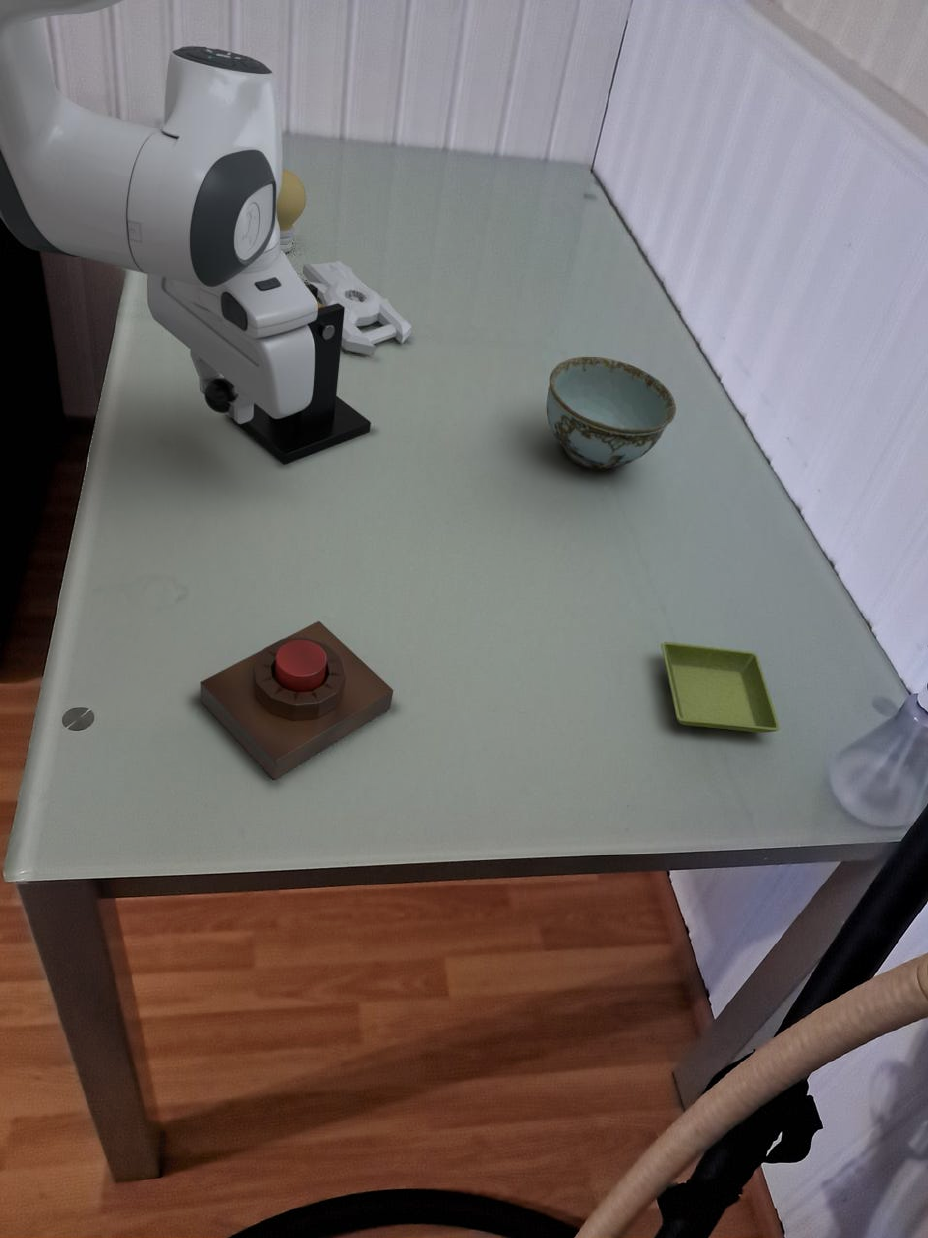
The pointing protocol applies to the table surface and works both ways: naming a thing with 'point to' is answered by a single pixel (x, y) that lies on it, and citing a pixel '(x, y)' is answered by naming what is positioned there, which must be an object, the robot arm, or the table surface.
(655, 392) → the bowl
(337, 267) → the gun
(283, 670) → the button
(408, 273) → the table surface
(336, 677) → the button block
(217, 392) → the lever
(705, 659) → the green square tray
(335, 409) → the bracket
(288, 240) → the light bulb
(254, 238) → the robot arm
